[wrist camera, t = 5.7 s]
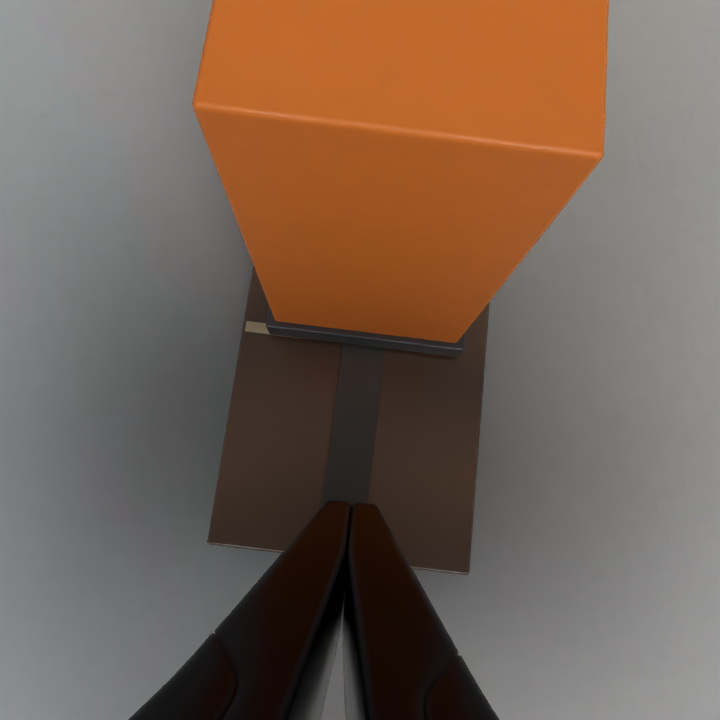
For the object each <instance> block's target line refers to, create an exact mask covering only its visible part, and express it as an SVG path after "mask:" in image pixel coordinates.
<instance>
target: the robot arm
mask: <svg viewBox="0 0 720 720" xmlns="http://www.w3.org/2000/svg"><path fill="white" fill-rule="evenodd" d="M343 605H344V606H343ZM342 616H343V623H342ZM341 624H342V644H343V668H344V691H345V715H346V720H499V718H498V717H497V715H496V714H495V712H494V711H493V709H492V708H491V706H490V704H489V703H488V701H487V699H486V698H485V696H484V694H483V693H482V691H481V689H480V688H479V686H478V684H477V683H476V681H475V679H474V678H473V676H472V674H471V672H470V671H469V669H468V667H467V665H466V663H465V662H464V660H463V658H462V657H461V656H460V655H458V654H459V653H458V650H457V649H456V647H455V645H454V643H453V641H452V640H451V638H450V636H449V634H448V632H447V631H446V629H445V627H444V625H443V623H442V622H441V620H440V618H439V616H438V614H437V613H436V611H435V609H434V607H433V606H432V604H431V602H430V600H429V598H428V597H427V595H426V593H425V591H424V589H423V588H422V586H421V584H420V582H419V580H418V579H417V577H416V575H415V573H414V571H413V570H412V568H411V566H410V564H409V562H408V561H407V559H406V557H405V555H404V553H403V552H402V550H401V548H400V546H399V544H398V543H397V541H396V539H395V537H394V535H393V534H392V532H391V530H390V528H389V527H388V525H387V523H386V521H385V519H384V518H383V516H382V514H381V512H380V510H379V509H378V507H377V506H376V505H375V504H369V503H357V502H356V503H353V505H352V509H351V503H349V502H345V501H333V500H330V501H327V502H326V503H325V504H324V505H323V507H322V508H321V509H320V510H319V511H318V512H317V513H316V515H315V516H314V517H313V518H312V519H311V520H310V522H309V523H308V524H307V525H306V526H305V527H304V528H303V530H302V531H301V532H300V533H299V534H298V535H297V537H296V538H295V539H294V540H293V541H292V542H291V543H290V545H289V546H288V547H287V548H286V549H285V550H284V552H283V553H282V554H281V555H280V556H279V557H278V558H277V560H276V561H275V562H274V563H273V564H272V565H271V566H270V568H269V569H268V570H267V571H266V572H265V573H264V575H263V576H262V577H261V578H260V579H259V580H258V581H257V583H256V584H255V585H254V586H253V587H252V588H251V590H250V591H249V592H248V593H247V594H246V595H245V596H244V598H243V599H242V600H241V601H240V602H239V603H238V605H237V606H236V607H235V608H234V609H233V610H232V611H231V613H230V614H229V615H228V616H227V617H226V618H225V620H224V621H223V622H222V623H221V624H220V625H219V626H218V628H217V629H216V630H215V634H214V633H213V634H211V635H210V636H209V637H208V638H207V639H206V640H205V642H204V643H203V644H202V645H201V646H200V647H199V649H198V650H197V651H196V652H195V653H194V654H193V655H192V656H191V657H190V659H189V660H188V661H187V662H186V663H185V664H184V665H183V666H182V667H181V668H180V669H179V670H178V671H177V673H176V674H175V675H174V676H173V677H172V678H171V679H170V680H169V681H168V682H167V683H166V684H165V685H164V686H163V687H162V688H161V689H160V690H159V691H158V692H157V693H156V694H155V695H154V696H152V697H151V698H150V699H149V700H148V701H147V702H146V703H145V704H144V705H143V706H142V707H141V708H140V709H139V710H138V711H137V712H136V713H135V714H134V715H133V716H131V717H130V718H129V719H128V720H321V715H322V711H323V707H324V702H325V698H326V693H327V689H328V685H329V680H330V676H331V671H332V667H333V662H334V658H335V654H336V649H337V645H338V640H339V635H340V630H341Z"/></svg>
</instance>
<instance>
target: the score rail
mask: <svg viewBox="0 0 720 720" xmlns="http://www.w3.org/2000/svg"><path fill="white" fill-rule="evenodd" d="M268 309H269V304H268V301H267V299H266V296H265V293H264V291H263V288H262V286H261V283H260V280H259V278H258V275H257V273H256V270H255V267H254V265H253V270H252V276H251V282H250V288H249V294H248V300H247V306H246V312H245V318H244V324H243V330H242V336H241V342H240V348H239V354H238V360H237V366H236V372H235V378H234V384H233V390H232V396H231V402H230V408H229V414H228V420H227V426H226V432H225V438H224V444H223V450H222V456H221V462H220V468H219V474H218V480H217V486H216V492H215V498H214V504H213V510H212V517H211V523H210V529H209V535H208V541H207V542H208V544H211V545H219V546H228V547H236V548H244V549H253V550H261V551H269V552H278V553H283V552H284V550H285V549H286V548H287V547H288V546H289V545H290V543H291V542H292V541H293V540H294V539H295V538H296V537H297V535H298V534H299V533H300V532H301V531H302V530H303V528H304V527H305V526H306V525H307V524H308V523H309V522H310V520H311V519H312V518H313V517H314V516H315V515H316V513H317V512H318V511H319V510H320V509H321V508H322V507H323V505H324V504H325V503H326V502H327V501H330V500H333V501H345V502H349V503H351V509H352V505H353V503H356V502H357V503H369V504H375V505H376V506H377V507H378V509H379V510H380V512H381V514H382V516H383V518H384V519H385V521H386V523H387V525H388V527H389V528H390V530H391V532H392V534H393V535H394V537H395V539H396V541H397V543H398V544H399V546H400V548H401V550H402V552H403V553H404V555H405V557H406V559H407V561H408V562H409V564H410V566H411V568H412V569H419V570H428V571H436V572H444V573H453V574H461V575H468V574H469V570H470V557H471V543H472V530H473V516H474V503H475V489H476V476H477V462H478V449H479V435H480V422H481V408H482V395H483V381H484V368H485V354H486V341H487V327H488V314H489V303H488V304H487V305H486V306H485V308H484V309H483V310H482V311H481V313H480V314H479V315H478V316H477V318H476V319H475V320H474V322H473V323H472V324H471V325H470V327H469V328H468V329H467V330H466V336H465V348H464V351H463V352H462V353H461V355H460V356H459V357H452V356H444V355H436V354H428V353H420V352H412V351H403V350H395V349H387V348H379V347H371V346H363V345H354V344H346V343H338V342H330V341H322V340H313V339H305V338H297V337H289V336H281V335H273V334H270V333H269V332H268V330H267V327H266V321H267V315H268Z"/></svg>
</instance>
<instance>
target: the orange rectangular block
mask: <svg viewBox="0 0 720 720" xmlns="http://www.w3.org/2000/svg"><path fill="white" fill-rule="evenodd" d="M608 7H609V0H213V3H212V8H211V13H210V18H209V23H208V28H207V33H206V38H205V43H204V48H203V52H202V57H201V62H200V67H199V72H198V77H197V82H196V87H195V92H194V97H193V102H192V105H193V109H194V112H195V114H196V117H197V119H198V122H199V125H200V127H201V130H202V132H203V135H204V138H205V140H206V143H207V145H208V148H209V151H210V153H211V156H212V158H213V161H214V164H215V166H216V169H217V171H218V174H219V177H220V179H221V182H222V184H223V187H224V190H225V192H226V195H227V197H228V200H229V202H230V205H231V208H232V210H233V213H234V215H235V218H236V221H237V223H238V226H239V228H240V231H241V234H242V236H243V239H244V241H245V244H246V247H247V249H248V252H249V254H250V257H251V260H252V262H253V265H254V267H255V270H256V273H257V275H258V278H259V280H260V283H261V286H262V288H263V291H264V293H265V296H266V299H267V301H268V304H269V309H268V315H267V321H266V327H267V330H268V332H269V333H270V334H273V335H281V336H289V337H297V338H305V339H313V340H322V341H330V342H338V343H346V344H354V345H363V346H371V347H379V348H387V349H395V350H403V351H412V352H420V353H428V354H436V355H444V356H452V357H459V356H460V355H461V353H462V352H463V351H464V348H465V336H466V330H467V329H468V328H469V327H470V325H471V324H472V323H473V322H474V320H475V319H476V318H477V316H478V315H479V314H480V313H481V311H482V310H483V309H484V308H485V306H486V305H487V304H488V303H489V301H490V300H491V299H492V297H493V296H494V295H495V294H496V292H497V291H498V290H499V289H500V287H501V286H502V285H503V284H504V282H505V281H506V280H507V278H508V277H509V276H510V275H511V273H512V272H513V271H514V270H515V268H516V267H517V266H518V264H519V263H520V262H521V261H522V259H523V258H524V257H525V256H526V254H527V253H528V252H529V251H530V249H531V248H532V247H533V245H534V244H535V243H536V242H537V240H538V239H539V238H540V237H541V235H542V234H543V233H544V232H545V230H546V229H547V228H548V226H549V225H550V224H551V223H552V221H553V220H554V219H555V218H556V216H557V215H558V214H559V212H560V211H561V210H562V209H563V207H564V206H565V205H566V204H567V202H568V201H569V200H570V199H571V197H572V196H573V195H574V193H575V192H576V191H577V190H578V188H579V187H580V186H581V185H582V183H583V182H584V181H585V180H586V178H587V177H588V176H589V174H590V173H591V172H592V171H593V169H594V168H595V167H596V166H597V164H598V163H599V162H600V161H601V159H602V157H603V155H604V130H605V99H606V68H607V37H608Z"/></svg>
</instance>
